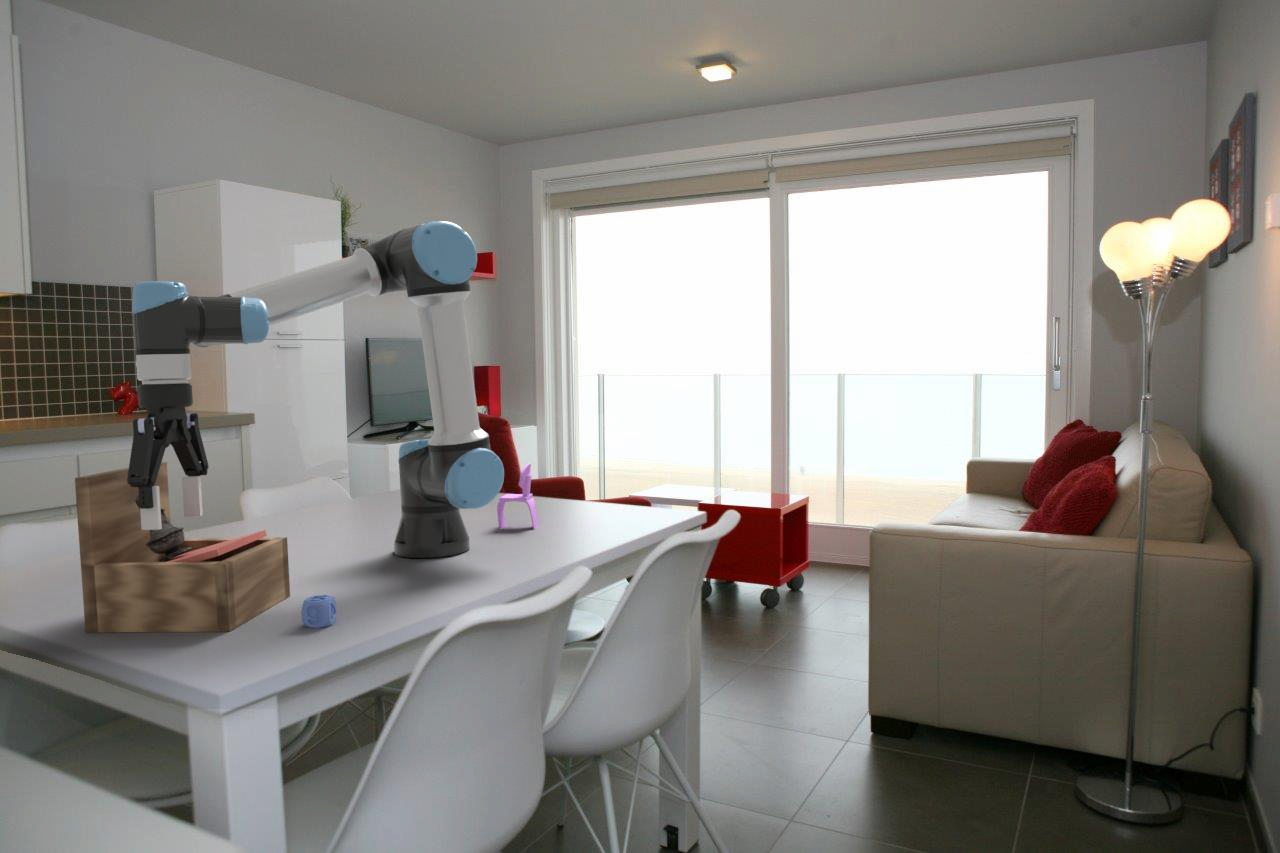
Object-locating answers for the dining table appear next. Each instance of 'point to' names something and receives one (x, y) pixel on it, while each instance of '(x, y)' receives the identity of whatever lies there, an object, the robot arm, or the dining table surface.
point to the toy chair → (519, 499)
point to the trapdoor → (217, 548)
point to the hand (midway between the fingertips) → (173, 522)
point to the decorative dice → (319, 611)
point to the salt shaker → (166, 538)
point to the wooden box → (165, 568)
